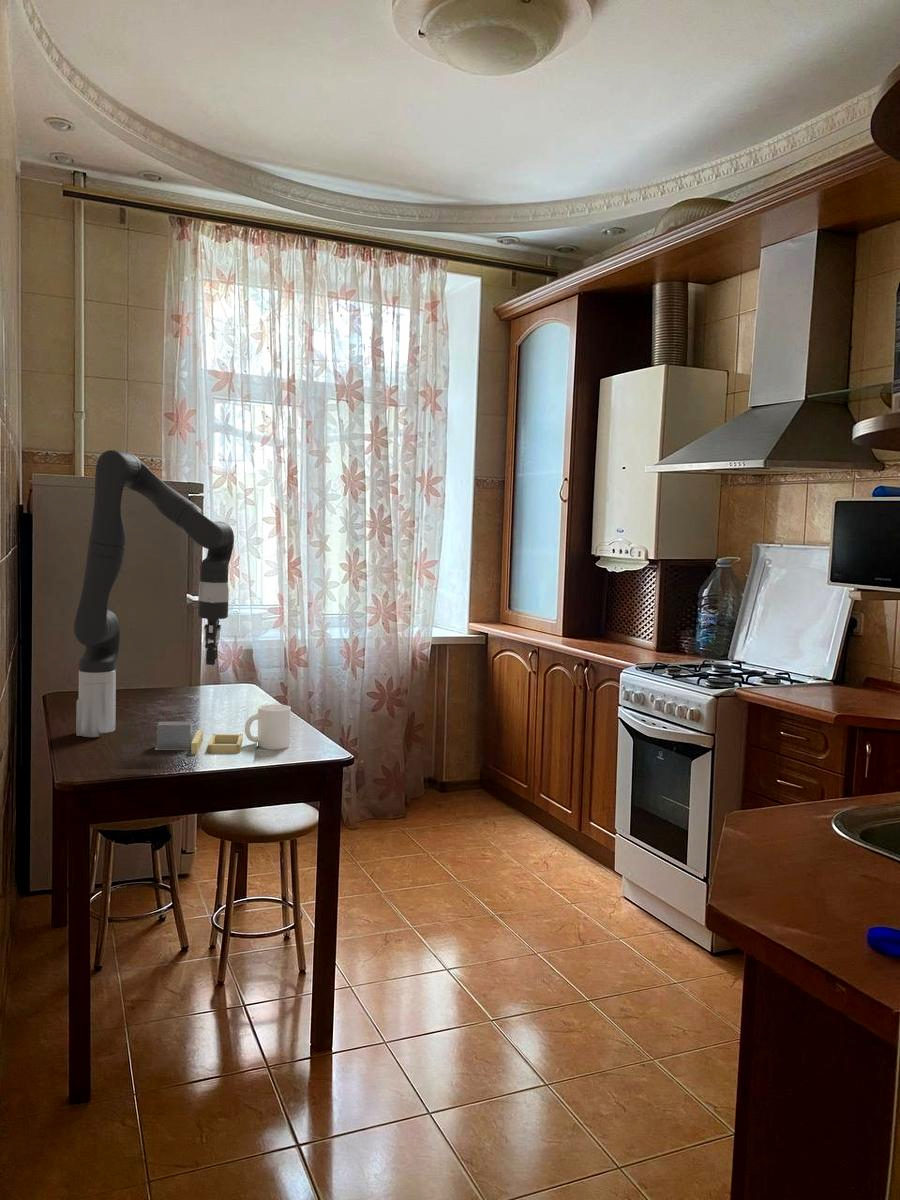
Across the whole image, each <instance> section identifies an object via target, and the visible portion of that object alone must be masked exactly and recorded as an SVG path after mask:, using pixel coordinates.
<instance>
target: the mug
mask: <svg viewBox="0 0 900 1200" xmlns="http://www.w3.org/2000/svg"><path fill="white" fill-rule="evenodd" d="M291 708H292V707H291V706H289V705H285V704H279V703H278V704H273V703H272V704H265V705H260V706H258V708H257V711H258V712H257V713H254V714H252V715H250V717H249V718H247V720H246V722H245V725H244V734H245V736H246V738H247V739H248V740H249V741H251V742H253V743H257V746H258V748H260V749H261V750H268V751H270V750H271V751H280V750H284V749H287V748H289V747H290V744H291V743H290V742H291V716H292V715H291V714H292V711H291ZM255 721H257V736H254V735H252V733H251V725H252V723H253V722H255Z"/></svg>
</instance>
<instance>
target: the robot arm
mask: <svg viewBox="0 0 900 1200" xmlns="http://www.w3.org/2000/svg"><path fill="white" fill-rule="evenodd" d="M94 472H95V474H94V479H95V480H94V499H93V501H94V503H93V510H92V511H93V512H92V518H91V526H90V531H89V532H90V533H89V537H88V544H87V545H88V546H87V552H86V561H85V568H84V573H83V574H84V576H83V582H82V583H83V584H82V590H81V594H80V599H79V603H78V607H77V610H76V614H75V618H74V623H73V633H74V636H75V638H76V640H77V641H78V642H79V643H80V644H81V645H83V646H84V647H85V650H84V652H83V654H82V656H81V657H80V659H79V660H78V699H76V714H75V715H76V716H75V717H76V721H75V723H76V727H75V728H76V729H75V730H76V732H75V733H76V734H75V735H76V736H78V737H80V736H81V737H85V738H101V737H102V736H103V735H104V734H109V733H112V732H114V731H115V730H116V700H117V699H116V696H117V695H116V692H117V691H116V690H117V688H116V687H117V685H116V681H117V680H116V678H117V677H116V673H117V672H116V671H117V662H118V659H119V656H120V638H121V635H120V634H121V628H120V622H119V619H118V616H117V615H116V614H115V612H113V611H111V610H109V609H108V606H109V600H110V595H111V592H112V590H113V587H114V585H115V584H116V581H117V580H118V577H119V575H120V573H121V572H122V568H123V565H124V562H125V556H126V549H127V543H128V542H127V531H126V526H125V522H124V519H123V514H122V498H123V493H124V492H123V491H124V488H126V489H129V490H132V491H134V492H136V493H138V494H140V495H142V496H143V497H144V498H146V499H148V501H150V502H151V503H152V504H153V505H154V507H155V508H156V509H157V511H159V513H160V514H161V515H163V516H164V517H165V518H167V520H169V522H170V521H171V522H172V523H173V524H174V525H176V526H177V527H179V528H180V529H182V530H184V532H185V533H186V534H187V535H188V536H189V537H190V538H191V539H192V540H193V541H194V542H195V543H196V544H198V545H199V546H200V547H203V548H204V549H207V555H206V557H205V558H204V559H203V560H202V561H201V563H200V571H199V585H198V586H199V587H198V601H197V605H198V606H197V617H198V618H200V619H205V620H207V624H204V629H203V632H204V642H205V645H204V647H205V651H206V653H205V654H206V655H205V664H206V665H207V666H214V665H215V664H216V660H217V659H218V645H219V644H220V643H219V642H220V637H221V631H222V625H221V624H220V620H224V619H227V618H228V617H229V599H230V598H229V596H230V595H229V593H230V590H229V564H230V561H231V558H232V553H233V548H234V545H235V544H234V543H235V535H234V531H233V529H232V527H231V525H230V524H228V523H227V522H224V521H213V520H211V519H210V518H208V517H206V516H205V515H204V511H203V510H202V509H201V508H200V507H199V506H198V505H197V504H195V503H194V502H193V501H191V500H189V499H188V498H187V497H185V496H183V495H182V494H180V493H179V492H178V491H176V490H175V489H173V488H172V487H170V486H169V485H168V484H166V483H165V482H164V481H163V480H162V479H161V478H160V477H158V476H157V475H156V474H155V473H154V472H153V471H152V470H151V469H150V468H149V467H148V466H147V465H146V464H144V462H142V460H141V459H139V458H138V457H137V456H136V455H135V454H133V453H131V452H126V451H121V450H116V449H111V450H106V451H104V452H103V453H101V455H99V457H98V459H97V462H96V465H95V471H94Z"/></svg>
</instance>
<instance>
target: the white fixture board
mask: <svg viewBox="0 0 900 1200" xmlns="http://www.w3.org/2000/svg"><path fill="white" fill-rule="evenodd" d="M243 736H244V735H243V733H240V734H239V733H237V734H236V733H235V734H232V733H224V734H223V733H217V734H216V733H215V734H214V733H213V734H212V735H211V737H210V739H209V742H208V745H207V753H208V754H216V753H218V754H225V753H226V754H230V753H231V754H233V753H234V754H240V753H241V749H242V745H243V741H244V739H243ZM203 742H204V730H202V729H197V731H196V733H195V735H194V737H193V738H192V743H191V748H190V749H157V745H156V746H155V748H154V750H157V751H159V750H160V751H161V750H162V751H163V750H164V751H166V750H167V751H168V750H171V751H174V750H175V751H177V750H178V751H179V750H180V751H181V750H182V751H185V750H186V751H187V750H189V751H191V752H190V754H191V755H197V754H198V753H199V751H200V748H201V747H202V743H203ZM216 743H217V744H216ZM218 743H219V744H218ZM220 743H221V744H220ZM223 743H224V744H223ZM229 743H231V744H229ZM235 743H236V744H235Z"/></svg>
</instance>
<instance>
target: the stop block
mask: <svg viewBox="0 0 900 1200" xmlns="http://www.w3.org/2000/svg"><path fill="white" fill-rule="evenodd" d="M156 725H157V726H156V727H157V728H156V731H157V732H156V746H157V749H190V748H191V743H192V741H193V721H158V723H157V724H156Z"/></svg>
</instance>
